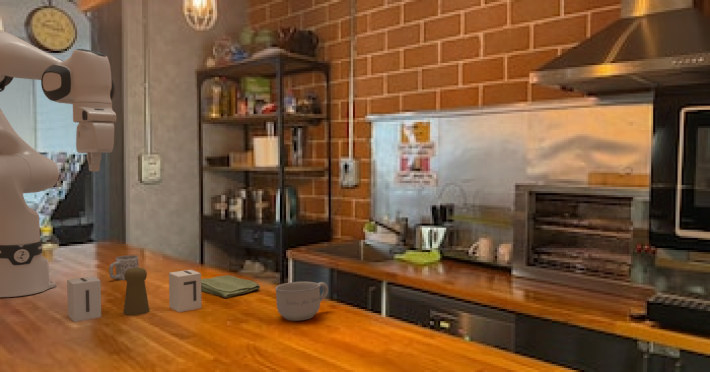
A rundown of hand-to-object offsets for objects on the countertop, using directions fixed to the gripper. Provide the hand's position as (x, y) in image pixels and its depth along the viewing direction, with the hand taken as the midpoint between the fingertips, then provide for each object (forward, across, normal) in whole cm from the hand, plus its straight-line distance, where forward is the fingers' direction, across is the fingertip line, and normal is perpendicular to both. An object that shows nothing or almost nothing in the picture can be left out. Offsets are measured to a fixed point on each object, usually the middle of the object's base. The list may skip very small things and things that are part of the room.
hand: (94, 171), depth 136 cm
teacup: (+35, +38, +37) cm, 64 cm away
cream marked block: (+35, +12, +18) cm, 41 cm away
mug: (+35, -32, +16) cm, 50 cm away
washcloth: (+36, +2, +35) cm, 50 cm away
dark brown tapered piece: (+35, +8, +7) cm, 37 cm away
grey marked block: (+35, +4, -4) cm, 36 cm away
